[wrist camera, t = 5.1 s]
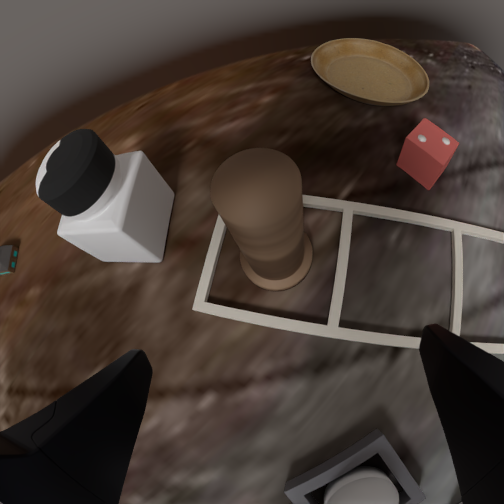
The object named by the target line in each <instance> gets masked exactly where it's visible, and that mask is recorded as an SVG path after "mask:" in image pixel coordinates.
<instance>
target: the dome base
mask: <svg viewBox="0 0 504 504" xmlns="http://www.w3.org/2000/svg"><path fill="white" fill-rule="evenodd" d="M376 453H378V454H379V455H380V457H381V458H382V460H383V461H384V463H385V464H386V465H387V467H388V468H389V470H390V471H391V472H392V474H393V475H394V477H395V478H396V479H397V481H398V482H399V484H400V485H401V487H402V488H403V489H404V490H403V491H402V492H400V493H399V504H419V503H420V502H422V501H423V500H424V499H426V496H425V495H424V493H423V492H422V490H421V489H420V487H419V486H418V485H417V483H416V482H415V480H414V479H413V477H412V476H411V474H410V473H409V471H408V470H407V468H406V467H405V465H404V464H403V462H402V461H401V460H400V458H399V457H398V455H397V454H396V452H395V451H394V449H393V448H392V446H391V445H390V443H389V442H388V440H387V439H386V438H385V436H384V435H383V434H382V433H381V432H380V431H379V430H378V429H375V430H374V431H372V432H371V433H370V434H368V435H367V436H365V437H364V438H362V439H361V440H359V441H358V442H356V443H355V444H353V445H352V446H350V447H349V448H347V449H345V450H344V451H342V452H341V453H339V454H337V455H336V456H334V457H332V458H330V459H329V460H327V461H325V462H324V463H322V464H320V465H318V466H316V467H314V468H313V469H311V470H309V471H307V472H305V473H303V474H301V475H299V476H297V477H295V478H293V479H291V480H289V481H287V482H286V484H285V489H284V493H285V494H286V496H287V497H288V498H289V499H290V500H291V502H292V503H293V504H319V503H318V502H317V500H316V499H315V498H314V497H313V496H312V494H311V493H310V492H312V491H314V490H316V489H318V488H319V487H321V486H323V485H325V484H327V483H329V482H331V481H333V480H334V479H336V478H338V477H340V476H341V475H343V474H345V473H347V472H348V471H350V470H352V469H353V468H355V467H356V466H358V465H360V464H361V463H363V462H364V461H366V460H367V459H369V458H370V457H372V456H373V455H375V454H376Z"/></svg>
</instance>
